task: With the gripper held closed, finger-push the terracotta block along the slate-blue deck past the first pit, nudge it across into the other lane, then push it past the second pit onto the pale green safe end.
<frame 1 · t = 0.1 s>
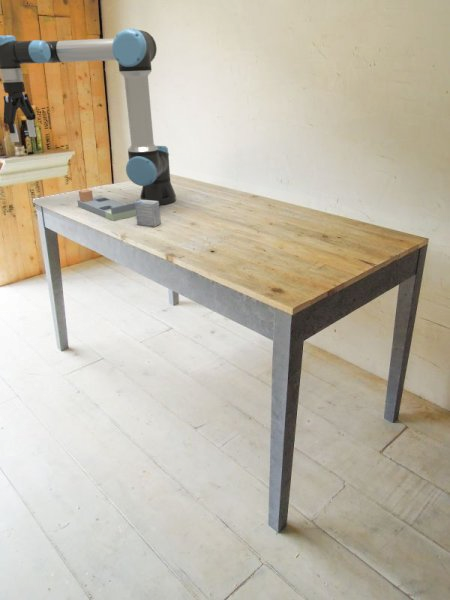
hand: (24, 139, 200), 28 cm above the table, tool pointing down, fingers open, 13 cm apart
deck: (107, 210, 205), on the table
block: (86, 200, 211), point 2 cm above the table, touching deck
medicine box: (149, 224, 186), on the table
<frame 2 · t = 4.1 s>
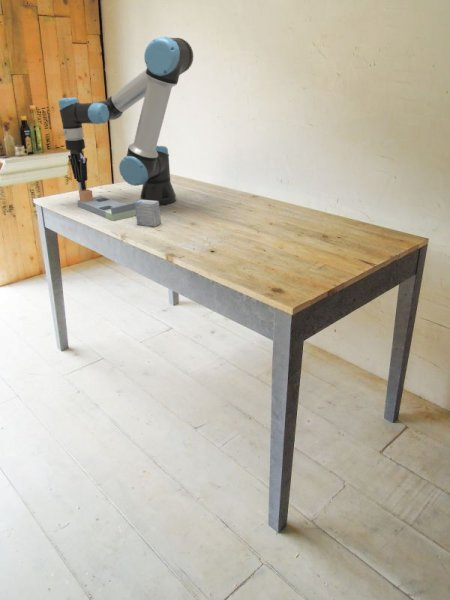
hand: (83, 196, 212), 4 cm above the table, tool pointing down, fingers closed
block: (86, 200, 211), point 3 cm above the table, touching deck, gripper
everything else where it was.
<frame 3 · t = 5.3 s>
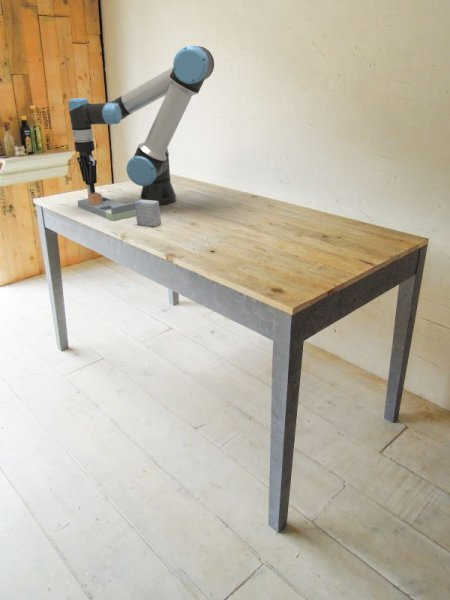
hand: (92, 199, 207), 4 cm above the table, tool pointing down, fingers closed
block: (95, 203, 205), point 3 cm above the table, touching gripper
everything else where it was.
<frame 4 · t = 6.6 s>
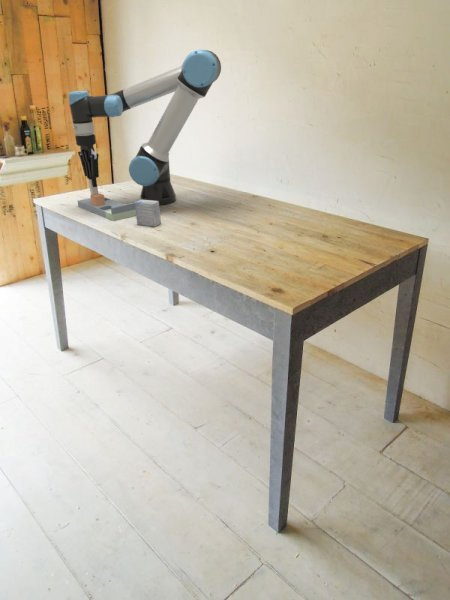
hand: (94, 194, 204), 6 cm above the table, tool pointing down, fingers closed
block: (98, 204, 204), point 3 cm above the table, touching deck
everything else where it was.
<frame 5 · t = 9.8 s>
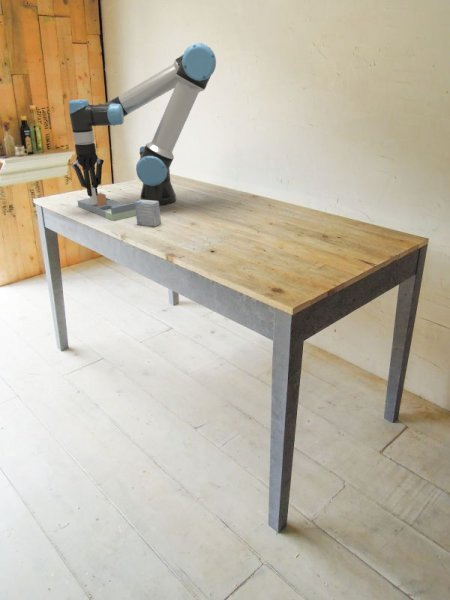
hand: (94, 203, 202), 3 cm above the table, tool pointing down, fingers closed
block: (100, 204, 204), point 3 cm above the table, touching gripper
everything else where it was.
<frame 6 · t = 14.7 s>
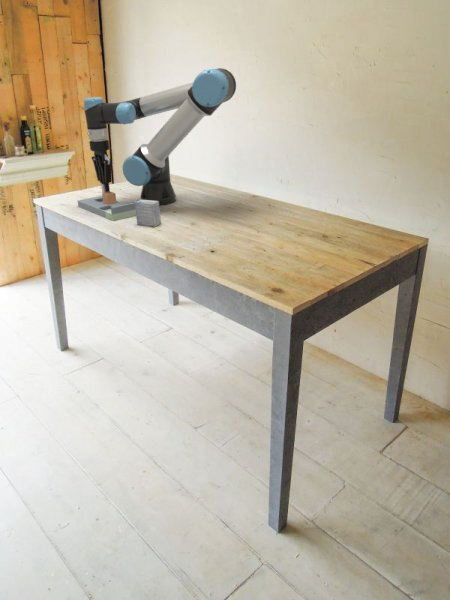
hand: (107, 198, 207), 4 cm above the table, tool pointing down, fingers closed
block: (109, 202, 206), point 3 cm above the table, touching deck, gripper
everything else where it was.
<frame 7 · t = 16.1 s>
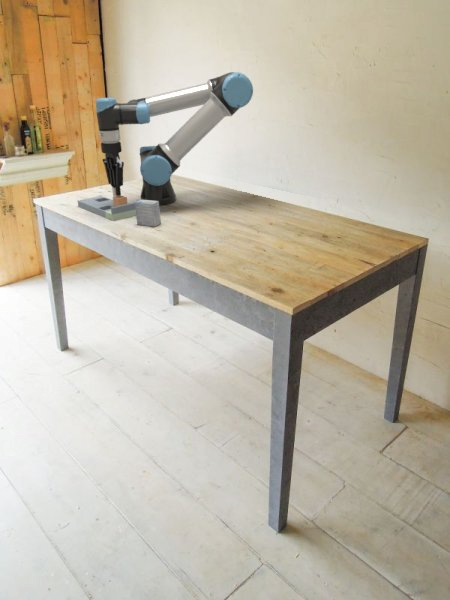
hand: (117, 202, 201), 4 cm above the table, tool pointing down, fingers closed
block: (120, 207, 199), point 3 cm above the table, touching gripper
everything else where it was.
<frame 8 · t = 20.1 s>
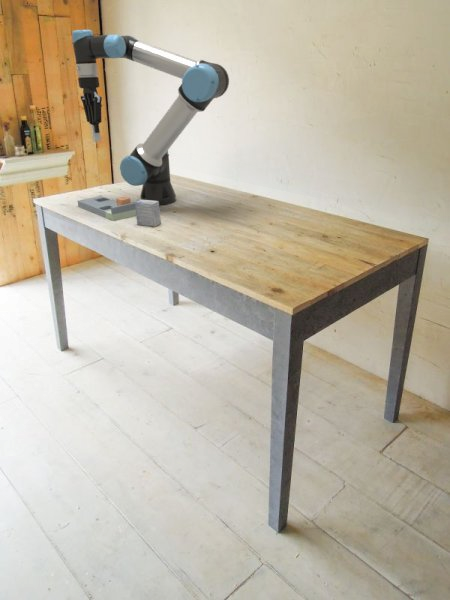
hand: (96, 141, 199), 26 cm above the table, tool pointing down, fingers closed
block: (124, 208, 197), point 2 cm above the table, touching deck
everything else where it was.
at the end: block inside the target area (1.6 cm from its centre), point 2.5 cm above the table; block tilted 0°; block moved 23.6 cm from its start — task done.
